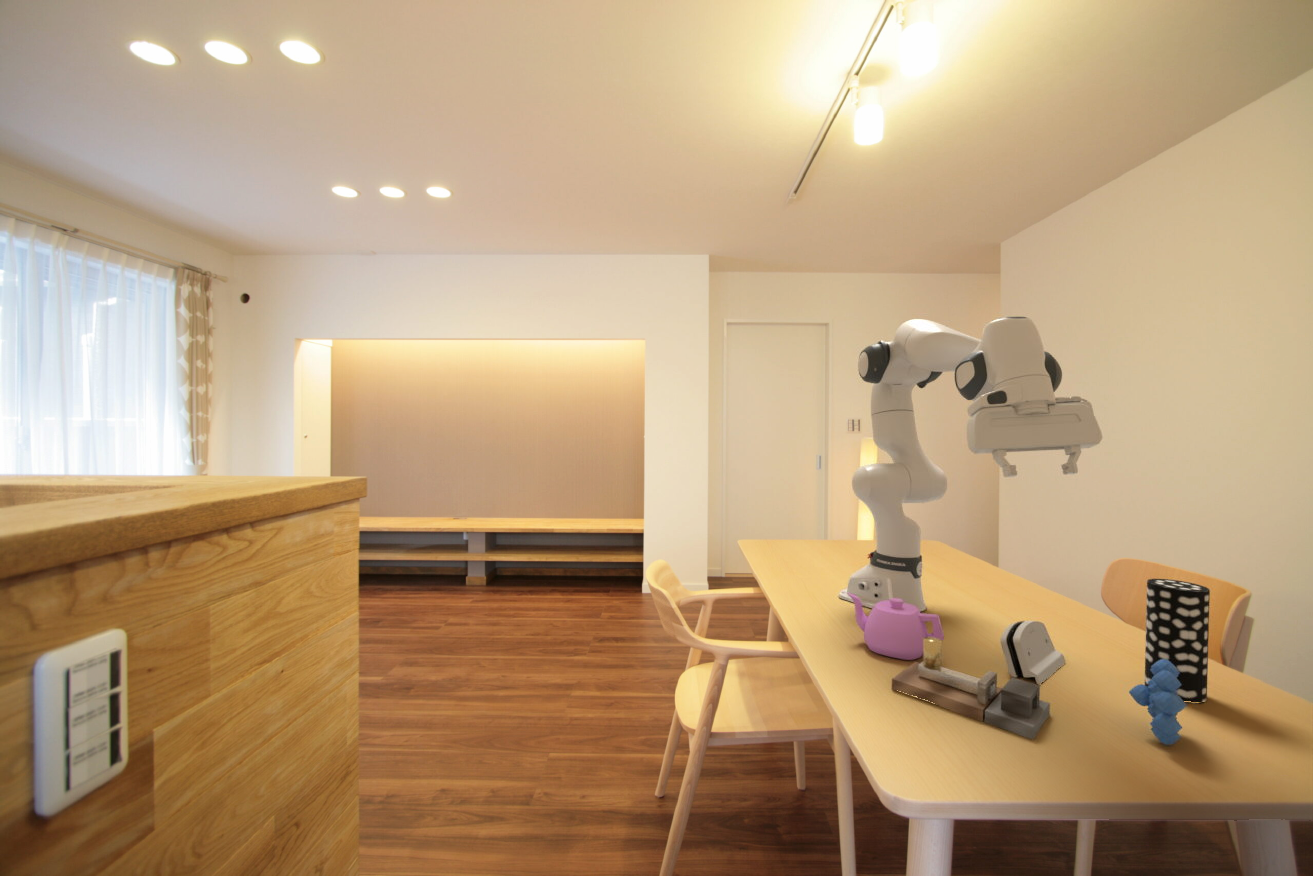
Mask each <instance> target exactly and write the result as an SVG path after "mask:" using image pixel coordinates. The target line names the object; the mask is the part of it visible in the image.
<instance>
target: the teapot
mask: <svg viewBox="0 0 1313 876" xmlns="http://www.w3.org/2000/svg"><path fill="white" fill-rule="evenodd" d="M847 594H848V595H849V596H850V597H851V598H852V600H853V601H854V602H853V604H854V613H855V621H856V623H857V626H858V627H859V629H860V630H862V631H863V639H864V642H865V643H866V646H867V647H868V648H869V650H870V651H871V652H874V653H875V654H878V655H881V656H886V657H889V658H894V659H899V660H903V661H905V660H906V661H914V660H917V659H920V658H921V657H923V638H924V637H935V638H938V639H940V640H941V641H944V639H945V634H944V630H943V627H942V623H941V619H940V616H939V614H937V613H936V614H935V613H922V612H921V611H919V609H918V608H917V607H916V606H914V605H911V604H907V603H903V600H901V599H898V598H891V599H890V601H888V600H885V601H880V602H878V603H877V604H875V606H874V607H873V609H872V608H871V611H870V612H869V614H868V616H867V615H866V614H865V612H864V610H863V605H862V603H861V601H860V599H859V598H858V597H857V596H856V595H853V594H851V593H847ZM925 622H931V625H932V632H931V633H928V629H927V626H926V623H925Z"/></svg>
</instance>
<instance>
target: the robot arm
mask: <svg viewBox="0 0 1313 876" xmlns="http://www.w3.org/2000/svg"><path fill="white" fill-rule="evenodd" d="M857 368H858V374H859V376H860V378H861V379H862V381H863V382H866V383H870V384H872V388H871V397H870V413H871V414H870V415H871V416H870V417H871V426H872V427H871V428H872V437H873V438H872V439H873V442H874V445H875V446H877V448H878V449H880V450H882V451H884V452H886V453H887V454H888V456H890V458H891V460H892V462H893V463H889V462H888V463H885V462H884V463H883V462H882V463H881V462H880V463H877V462H876V463H871V464H867V465H862V466H859V467H857V468H856V470H855V472H854V474H853V476H852V480H851V486H852V490H853V492H854V495H855V496H856V497H857V499H859V500H860V501H861V502H862V503H863V504H865V506H866V507H867V508H868V509H869V512H871V515H872V517H873V520H874V523H875V533H876V539H875V540H876V549H874V551H871V552H870V553H869V554H867V558H866V559H869V563H868V564H866V565H865V566H863V567H860V568H859V569H858V570H857V571H854V572H853V573H852V574H851V575H850V577H849V578H848V582H847V587H846V588H844V589H842V590H840V591H839V594H838V598H839V599H842V600H845V601H848V602H852V603H854V601H853V600H852V598H851V597H850V596H849V595H848V594H847V593H851V594H853V595H856V596H857V597H858V598H859V599H860V601H861V603H862V607H866V608H869V609H871V610H872V609H873V607H874V606H875V604H877V603H878V602H880V601H885V600H888V601H890V599H891V598H898V599H901V600H903V603H907V604H911V605H914V606H916V607H917V608H918V609H919V611H920V612H923V611H926V609H927V606H926V603H925V597H924V594H923V587H922V573H923V556H922V555H921V541H922V540H921V531H922V530H921V528H920V526H919V525H918V523H917V522H916V521H915V520H913V519H912V518H910V517H908V516H906V515H905V513H904V512H905V511H904V509H903V504H925V503H929V502H935V501H938V500H941V499H942V498H943V497H944V496H945V494H946V491H947V489H948V480H947V476H946V474H945V472H944V471H943V469H942V468H940V467H939V466H937V465H936V464H935V463H934V462H933V461H931V459H930V458H929V457H928V456H927V454H926V453H925V451H924V449H923V448H922V446H921V443H920V440H919V437H918V433H917V427H916V420H915V419H916V418H915V411H914V410H915V409H914V404H913V397H912V393H913V389H914V387H915V386H917V387H918V388H920V389H924V388H926V387H927V385H928V384H930V383H932V382H935V380H937V379H939V377H940V376H942V374H943V373H947V372H950V373H951V372H954V383H955V386H956V389H957V391H958V392H959V394H960V396H962V397H963V398H964V399H965V400H967V401H971V403H970V405H968V407H967V414H968V416H969V417H970V418H969V419H968V420H967V422H966V440H967V447H968V449H969V450H970V452H972V453H973V454H975V455H976V454H977V455H979V454H991V455H992V459H993V460H994V462H995V463H996V464H997V465H999V467H1000V468H1001V470H1002V473H1003V475H1002V476H1003V478H1010V477H1011V478H1012V477H1016V476H1017V475H1018V471H1017V466H1016V464H1010V462H1009V461H1008V460H1007V459H1006V457H1007V453H1015V452H1017V453H1018V452H1020V453H1021V452H1037V451H1038V452H1040V451H1042V452H1043V451H1061V450H1064V454H1065V455H1066V456H1068V459H1067V461H1066V463H1063V464H1061V470H1062V474H1063V475H1075V474H1077V473H1078V472H1079V469H1078V465H1077V463H1078V461H1079V458H1080V456H1081V453H1082V449H1090V448H1093V447H1095V446H1098V445H1099V444H1100V443H1101V441H1102V440H1103V434H1102V431H1101V428H1100V425H1099V423H1098V420H1097V418H1096V416H1095V413H1094V409H1093V405H1092V403H1091V402H1090V401H1088V400H1087V399H1085V398H1082V397H1081V396H1079V395H1078V396H1075V395H1073V396H1070V397H1062V396H1059V397H1058V396H1057V397H1056V396H1055V392H1056V391H1057V390H1058V388H1059V386H1060V385H1061V383H1062V379H1063V371H1062V367H1061V366H1060V364H1059V362H1058V361H1057V359H1056V358H1055V357H1054V356H1053V355H1052V353H1049V352H1048V351H1045V349H1044V345H1043V342H1042V339H1041V335H1040V333H1039V330H1038V328H1037V326H1036V324H1035V323H1034V321H1033V320H1032V319H1031V318H1030V317H1026V316H1005V317H1000V318H997V319H993V320H991V321H990V322H988V323H986V324H985V325H984V327H983V330H982V336H981V339H980V338H977V337H975V336H972V335H968V334H966V333H964V332H961V331H959V330H955V329H954V328H951V327H948V326H946V325H944V324H941V323H939V322H936V321H933V320H929V319H922V318H913V319H910V320H909V319H908V320H907V321H905V322H903V323H902V324H900V326H899V327H898V328H897V329H896V332H895V334H894V337H893V340H891V341H888V342H887V341H884V339H882V340H880V341H878V342H877V343H874V344H870V345H868V346H866V347H865V348H864V349H863V350H861V352H860V353H859V357H858V362H857ZM972 401H973V402H972Z"/></svg>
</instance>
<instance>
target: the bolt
mask: <svg viewBox="0 0 1313 876" xmlns="http://www.w3.org/2000/svg"><path fill="white" fill-rule="evenodd" d="M942 641H943V640H940V639H938V638H935V637H924V638H923V655H922V661H921V662H919V663H920V664H919V665H918V676H921V677H924V678H927V679H930V680H933V681H936V682H939V683H942V684H945V685H949V686H952V687H955V688H958V689H961V690H964V691H967V692H970V693H973V694H976V695H977V689H978V681H979V680H980V679H981V678H979V677H976V676H973V675H969V674H966V673H963V672H960V671H957V670H953V669H950V668H947V667H943V666H942ZM994 695H995V683H993V682H992V683H991V684H990V685H989V686H988V699H992V698H993V696H994Z"/></svg>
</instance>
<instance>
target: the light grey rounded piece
mask: <svg viewBox="0 0 1313 876" xmlns="http://www.w3.org/2000/svg"><path fill="white" fill-rule="evenodd" d="M1000 645H1001V649H1002V652H1003V656H1004V659H1005V663H1006V666H1007V669H1008V673H1009V676H1010V675H1011V676H1014V677H1013V678H1018V677H1019V676H1023V678H1035V682H1036V684H1041V683H1042V682H1044V681H1045V680H1046V679H1047V680H1048V679H1049V678H1051V677H1050V675H1052V674H1053V673H1054V672H1055V671H1056V670H1057V669H1058V668H1059V667H1061V666H1062V665H1063V664H1064V663H1065V662H1066V660H1065V657H1064V654H1063V653H1062V652H1060V651H1059V650H1057V649H1056V648H1055V646H1054V643H1053V641H1052V639H1051V637H1050V635H1049V632H1048V629H1047V627H1046V625H1045V624H1044V622H1042V621H1037V620H1022V621H1021V620H1020V621H1017V622H1014V623H1011V624H1009V625H1007V626H1006V628H1004V630H1003V633H1002V635H1001V636H1000ZM1065 664H1066V663H1065ZM1065 664H1064V665H1065ZM1064 665H1063V666H1064ZM1063 666H1062V667H1063ZM1062 667H1061V668H1062ZM1057 671H1058V670H1057ZM1057 671H1056V672H1057ZM1056 672H1055V673H1056ZM1055 673H1054V674H1055ZM1054 674H1053V675H1054ZM1053 675H1052V676H1053ZM1011 676H1010V677H1011ZM1047 680H1046V681H1047ZM1046 681H1045V682H1046ZM1045 682H1044V683H1045ZM1041 685H1042V684H1041Z"/></svg>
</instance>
